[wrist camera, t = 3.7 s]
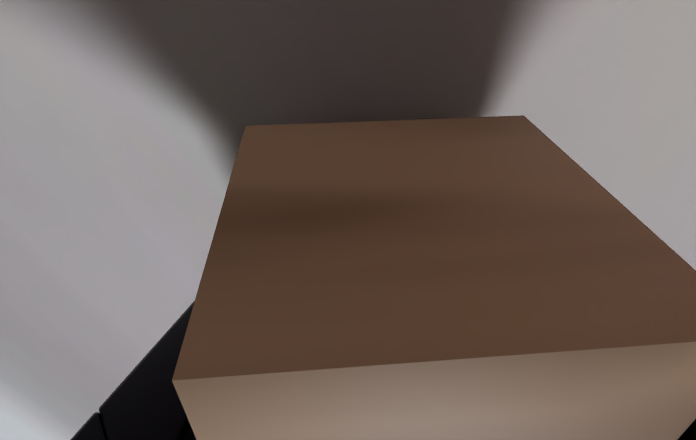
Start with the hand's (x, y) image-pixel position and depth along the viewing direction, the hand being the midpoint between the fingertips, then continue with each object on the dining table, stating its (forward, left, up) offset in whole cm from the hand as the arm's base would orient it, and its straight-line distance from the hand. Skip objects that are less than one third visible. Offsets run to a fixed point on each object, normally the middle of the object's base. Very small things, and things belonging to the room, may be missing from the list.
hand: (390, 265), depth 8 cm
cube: (0, 0, -1) cm, 1 cm away
